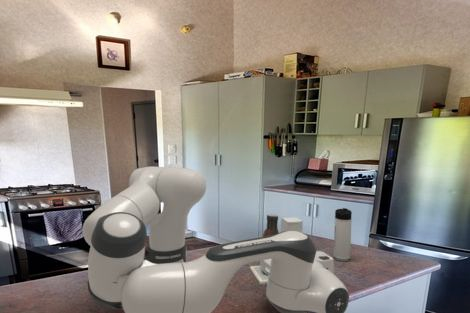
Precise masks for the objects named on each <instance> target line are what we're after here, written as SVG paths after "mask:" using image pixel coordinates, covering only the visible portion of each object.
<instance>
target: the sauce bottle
mask: <svg viewBox="0 0 470 313" xmlns="http://www.w3.org/2000/svg"><path fill="white" fill-rule="evenodd" d="M278 220H279V215H277V214H267V215H266V229H265V230H264V231H263V235H262V237H266V236H271V235H274V234H277V233H280V232H279V229H278V228H279V227H278Z"/></svg>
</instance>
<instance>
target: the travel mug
mask: <svg viewBox="0 0 470 313" xmlns="http://www.w3.org/2000/svg"><path fill="white" fill-rule="evenodd" d="M334 215H335V216H334V234H333V235H334V236H333V260H336V261H338V262H349V261H351V243H352V242H351V240H352V211H351V210H350V209H349V208H345V207H342V208H337V209H335V211H334Z"/></svg>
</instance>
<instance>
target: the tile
mask: <svg viewBox="0 0 470 313" xmlns="http://www.w3.org/2000/svg"><path fill="white" fill-rule="evenodd" d="M249 270H250V271H251V272H252V275H254V277H255V278H256V281H258V283H259V285H267V282H268V275H267V274H266V273H264V272H263V271H262V269H261V268H260V265H253V266H252V265H251V266H249Z"/></svg>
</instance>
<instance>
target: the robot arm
mask: <svg viewBox="0 0 470 313" xmlns="http://www.w3.org/2000/svg"><path fill="white" fill-rule="evenodd" d="M128 180H129V181H128V187H127V188H126V189H124V190H122V191H120V192H119V193H118V194H116V195H114V196H112V197H111V198H110V199H108V200H106V201H105V202H104V203H102V204H101V205H100V206H98V207H97V208H96V209H95V210H94V211H93V212H92V213H91V214H90V215H88V216H87V218H86V219H85V220H84V223H83V225H82V235H83V238H84V240H85V242H86V243H87V244H88V245H89V246H90V248H89V252H88V259H87V266H88V267H87V268H88V270H87V277H88V279H87V290H88V294H89V297H90V299H91V300H92V302H93V303H94V304H96V305H98V306H100V307H102V308H106V309H115V310H123V311H124V313H212V312H213V311H214V310H215V309H216V308H217V306H218V305H219V304H220V302H221V300H222V298H223V296H224V294H225V292H226V290H227V288H228V285H229V284H230V282H231V280H232V279H233V277H234V276H235V274H237V272H238V270H240V268H242V267H243V266H245V265H247V264H251V263H254V262H255V263H257V262H259V266H260V268H261V269H262V271H263V272H264V273H266V274H267V275H268V282H267V284H266V289H265V290H266V292H265V296H266V299H267V300H268V302H269V303H270V305H271V306H273V307H274V308H275V309H276V310H277V311H278V312H279V313H310V312H313V313H345V312H346V310H347V308H348V305H349V302H350V293H349V289H347V287H346V285H345V284H344V282H342V281H341V279H339V277H337V275H335V274H334V272H335V270H334V268H335V264H334V263H335V262H334V261H335V259H334V257H332V256H331V255H329V254H327V253H326V252H325V251H323V250H322V251H320V250H317V247H316V246H315V244H314V242H313V240H312V239H311V238H310V237H309V235H308V234H306V233H304V232H303V231H302V232H298V231H284V232H281V231H280V232H279V233H277V234H274V235H271V236H266V237H263V236H260V237H254V238H250V239H249V238H248V239H243V240H236V241H232V242H227V243H223V244H219V245H215V246H212V247H210V248H209V249H208V251H207V252H206V253H205V254H203V255H202V256H200V257H198V258H196V259H193V260H191V261H187V260H188V259H187V255H188V253H187V244H186V224H187V218H188V216H189V213H190V211H191V210H192V208H193V207H195V206H196V204H198V203H199V202H200V201H201V200H202V199H203V197H204V196H205V193H206V190H207V182H206V179H205V177H204V175H203V174H202V173H201V171H198V170H194V169H192V168H191V169H190V168H187V167H171V166H170V167H169V166H167V167H166V166H154V165H153V166H150V165H149V166H145V167H139V168H136V169H135V170H134V171H132V172H131V174H130V176H129V179H128ZM161 203H163V207H162V212H159V211H160V204H161ZM147 225H148V234H149V236H148V234H147ZM148 237H149V238H148ZM148 239H149V241H148ZM147 242H148V243H149V244H148V243H147Z"/></svg>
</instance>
